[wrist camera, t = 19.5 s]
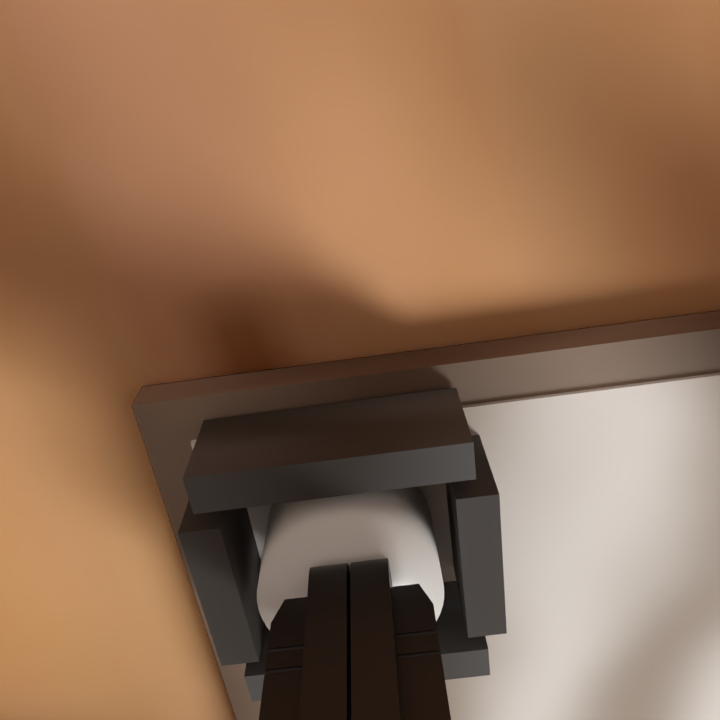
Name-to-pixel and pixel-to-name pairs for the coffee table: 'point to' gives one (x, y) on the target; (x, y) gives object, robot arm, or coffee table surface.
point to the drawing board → (484, 507)
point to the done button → (348, 543)
